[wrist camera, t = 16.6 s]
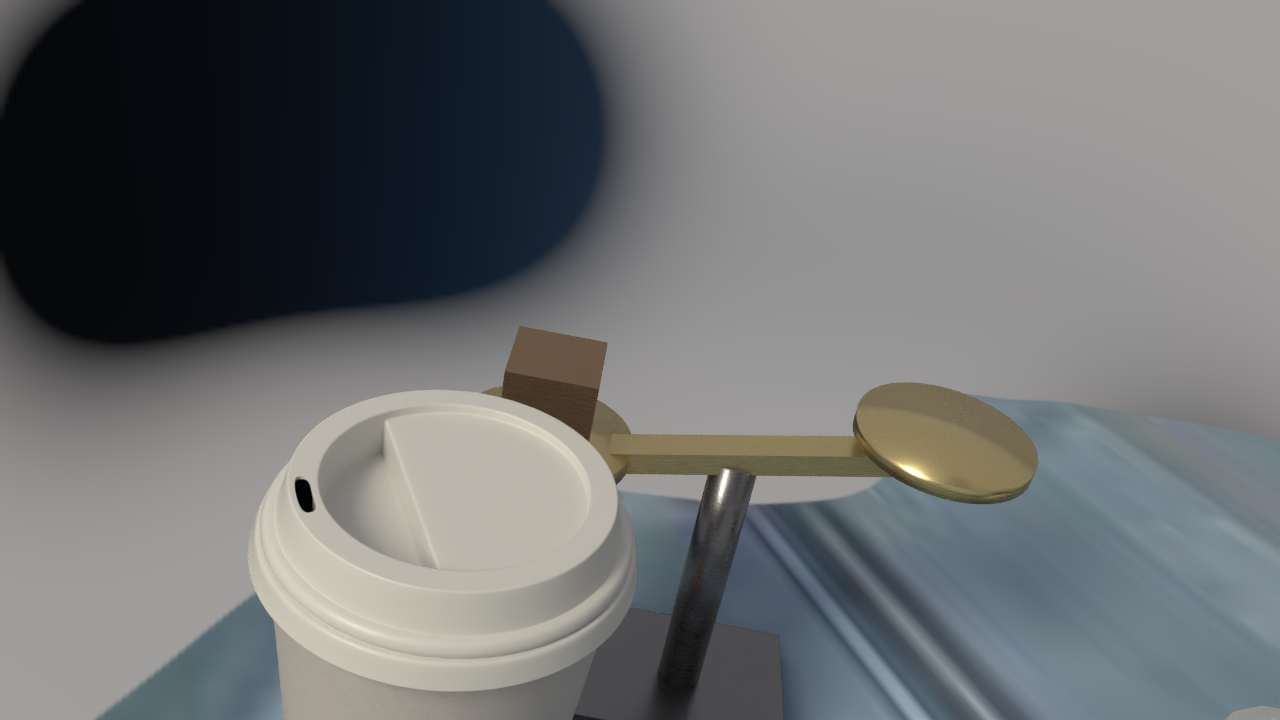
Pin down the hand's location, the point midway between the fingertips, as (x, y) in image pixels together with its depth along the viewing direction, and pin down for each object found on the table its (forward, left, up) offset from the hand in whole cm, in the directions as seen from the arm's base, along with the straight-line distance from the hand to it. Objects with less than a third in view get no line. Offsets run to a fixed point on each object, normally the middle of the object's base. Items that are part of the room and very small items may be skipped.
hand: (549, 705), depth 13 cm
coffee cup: (+3, -14, -23) cm, 27 cm away
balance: (-5, -24, -24) cm, 34 cm away
